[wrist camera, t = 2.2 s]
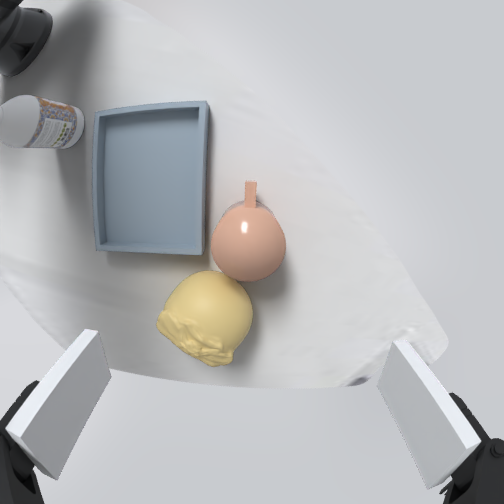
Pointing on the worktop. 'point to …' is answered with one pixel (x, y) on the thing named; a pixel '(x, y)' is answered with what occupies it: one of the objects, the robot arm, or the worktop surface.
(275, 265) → the peach tabbed round part
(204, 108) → the tray
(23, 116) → the bath foam
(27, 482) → the robot arm
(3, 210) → the worktop surface
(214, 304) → the sculpture
